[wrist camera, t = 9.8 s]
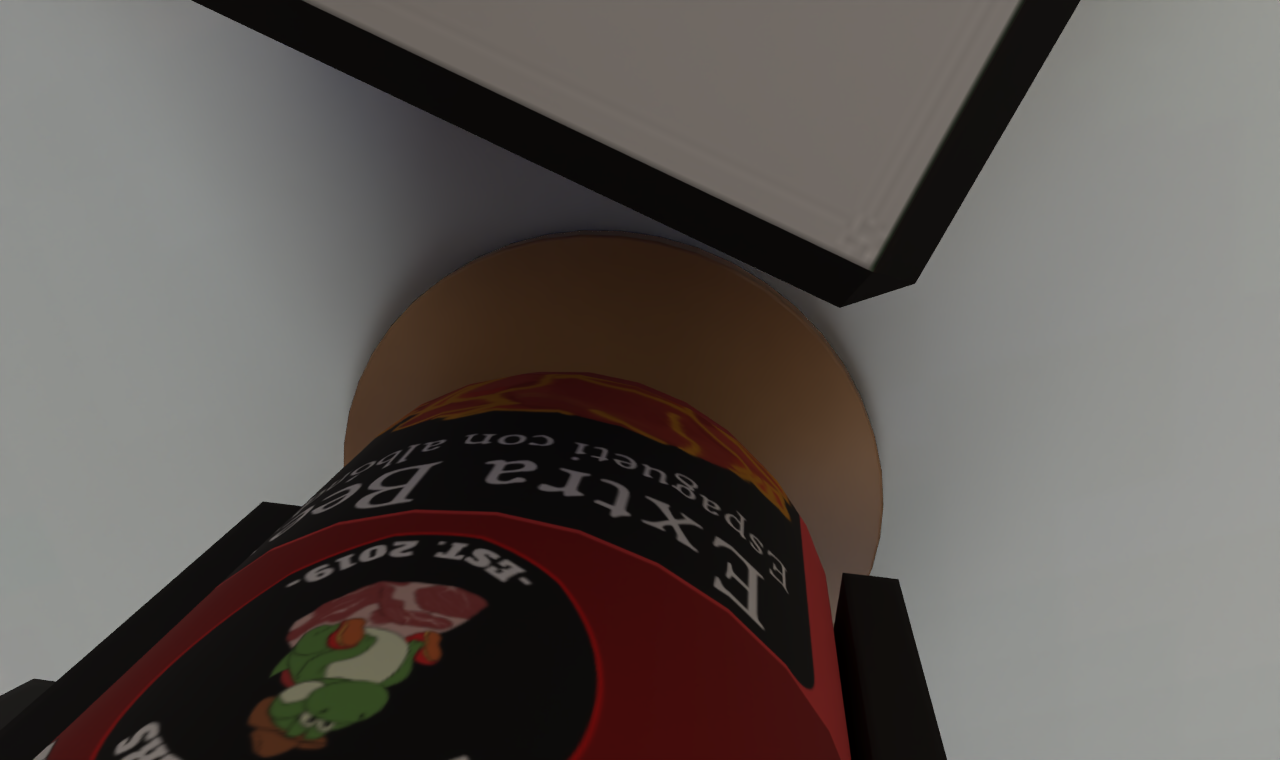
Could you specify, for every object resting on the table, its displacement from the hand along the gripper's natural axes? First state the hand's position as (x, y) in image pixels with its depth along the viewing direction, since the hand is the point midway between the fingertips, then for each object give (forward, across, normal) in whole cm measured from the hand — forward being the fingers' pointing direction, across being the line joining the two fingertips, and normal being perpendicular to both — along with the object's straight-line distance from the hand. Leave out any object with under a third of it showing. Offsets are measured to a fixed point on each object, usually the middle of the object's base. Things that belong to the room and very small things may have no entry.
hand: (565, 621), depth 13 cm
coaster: (+4, 0, 0) cm, 4 cm away
